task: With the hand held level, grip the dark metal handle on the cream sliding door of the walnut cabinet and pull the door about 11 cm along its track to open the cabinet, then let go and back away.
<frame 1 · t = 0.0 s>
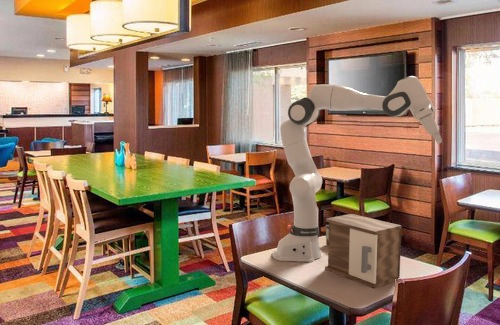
hand: (440, 142, 194), 54 cm above the table, tool tilted 30°, fingers open, 8 cm apart
food container: (336, 247, 235), on the table
cabinet: (362, 273, 197), on the table
sliding door: (359, 256, 185), point 11 cm above the table, slide at 0.0 cm
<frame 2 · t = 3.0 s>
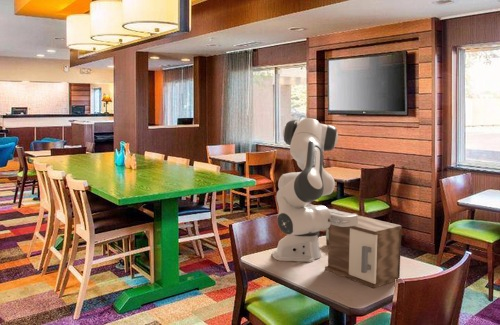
hand: (346, 213, 172), 30 cm above the table, tool horizontal, fingers open, 8 cm apart
nothing on the table moved.
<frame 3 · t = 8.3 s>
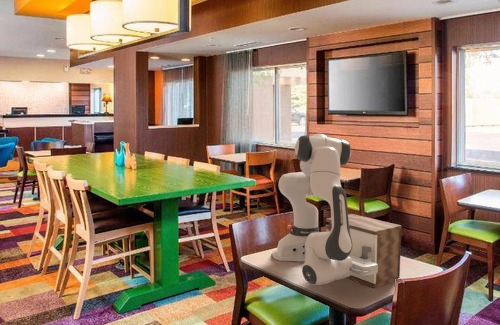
hand: (366, 259, 182), 11 cm above the table, tool horizontal, fingers closed on sliding door, 2 cm apart
sliding door: (359, 256, 185), point 11 cm above the table, slide at 0.0 cm, touching gripper
everything else where it was.
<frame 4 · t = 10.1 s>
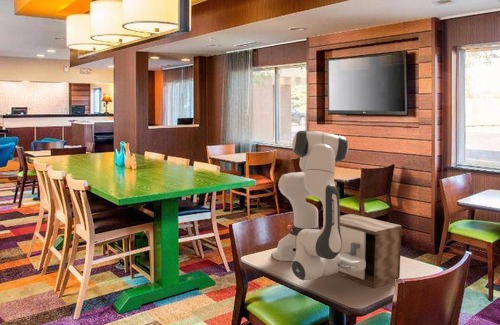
hand: (355, 255, 186), 11 cm above the table, tool horizontal, fingers closed on sliding door, 2 cm apart
sliding door: (348, 252, 190), point 11 cm above the table, slide at 5.7 cm, touching gripper
everything else where it was.
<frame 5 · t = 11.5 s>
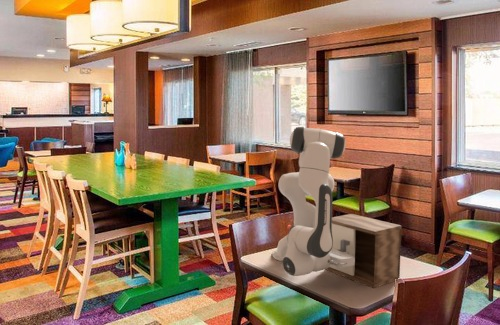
hand: (344, 252, 191), 11 cm above the table, tool horizontal, fingers closed on sliding door, 2 cm apart
sliding door: (338, 249, 194), point 11 cm above the table, slide at 10.9 cm, touching gripper
everything else where it was.
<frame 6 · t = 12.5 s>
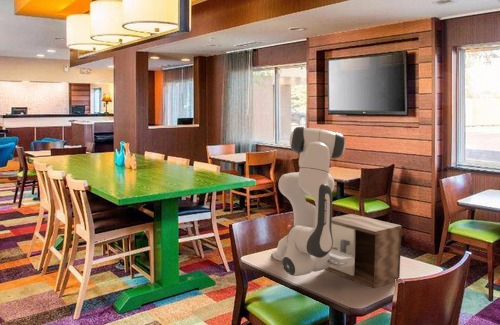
hand: (344, 252, 191), 11 cm above the table, tool horizontal, fingers open, 8 cm apart
sliding door: (338, 249, 194), point 11 cm above the table, slide at 10.9 cm
everything else where it was.
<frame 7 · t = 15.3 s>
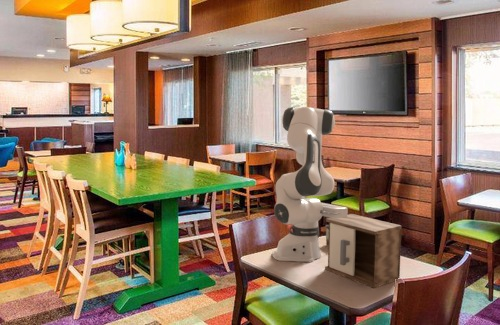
hand: (335, 207, 185), 30 cm above the table, tool horizontal, fingers open, 8 cm apart
nothing on the table moved.
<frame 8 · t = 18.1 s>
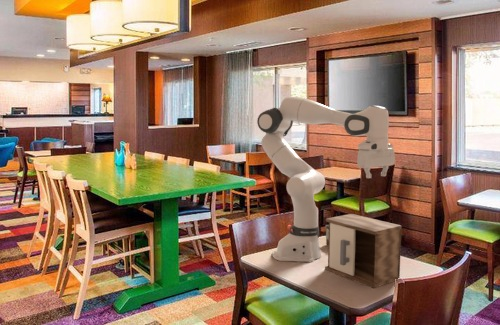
hand: (376, 177, 202), 39 cm above the table, tool pointing down, fingers open, 8 cm apart
nothing on the table moved.
at the end: sliding door slide at 10.9 cm; the gripper is holding nothing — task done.
